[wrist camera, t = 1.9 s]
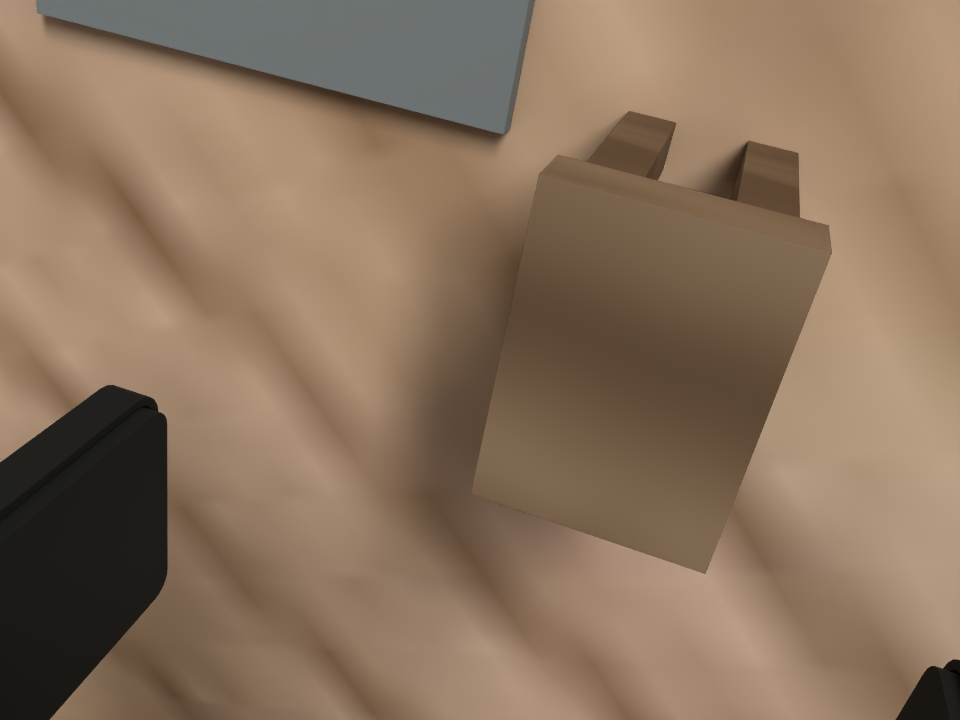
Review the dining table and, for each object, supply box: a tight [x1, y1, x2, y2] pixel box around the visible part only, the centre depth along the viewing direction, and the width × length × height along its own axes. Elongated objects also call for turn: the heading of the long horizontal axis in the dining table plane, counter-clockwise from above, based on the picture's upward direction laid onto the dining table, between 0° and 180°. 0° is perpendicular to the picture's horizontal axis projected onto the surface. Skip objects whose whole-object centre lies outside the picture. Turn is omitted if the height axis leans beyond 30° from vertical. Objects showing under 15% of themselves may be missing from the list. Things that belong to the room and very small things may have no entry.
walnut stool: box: [471, 111, 832, 574], centre depth 20 cm, size 7×5×8 cm
